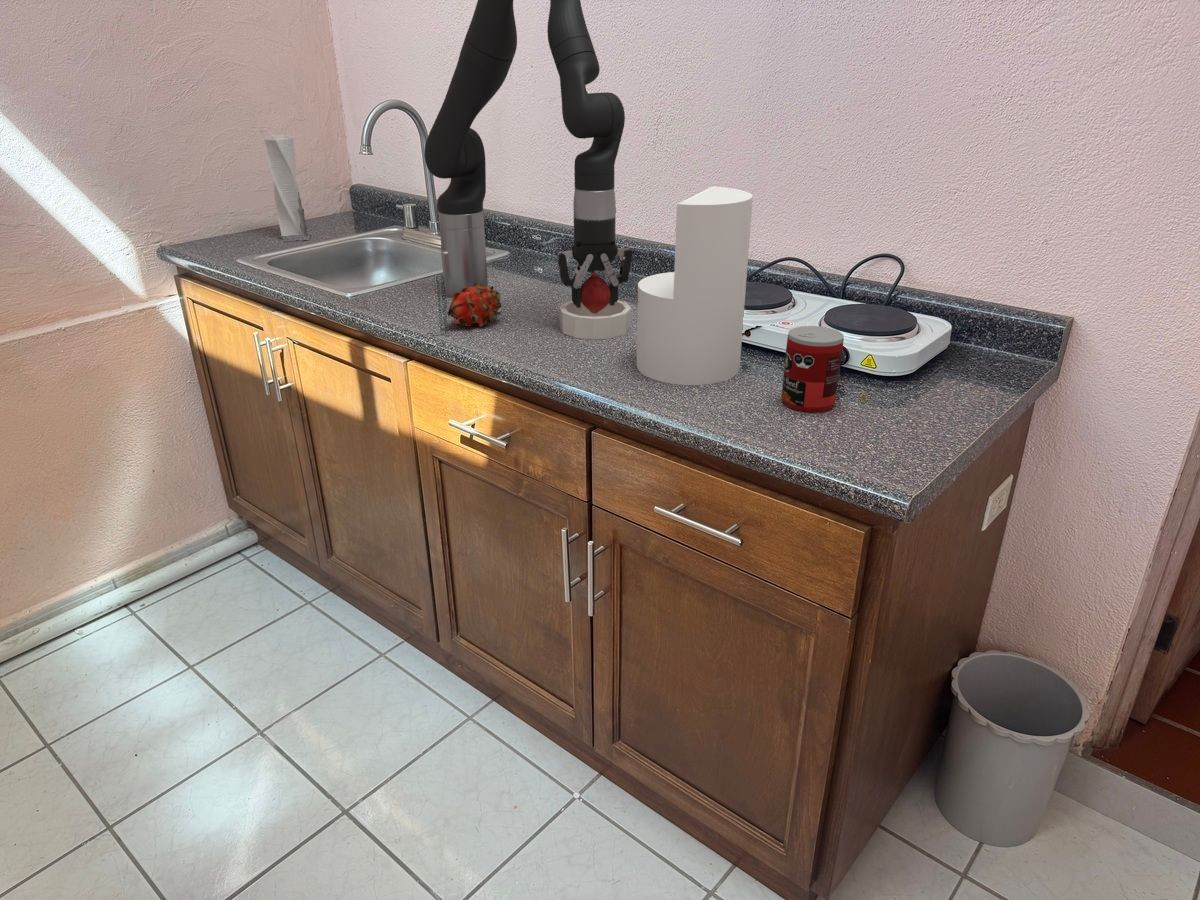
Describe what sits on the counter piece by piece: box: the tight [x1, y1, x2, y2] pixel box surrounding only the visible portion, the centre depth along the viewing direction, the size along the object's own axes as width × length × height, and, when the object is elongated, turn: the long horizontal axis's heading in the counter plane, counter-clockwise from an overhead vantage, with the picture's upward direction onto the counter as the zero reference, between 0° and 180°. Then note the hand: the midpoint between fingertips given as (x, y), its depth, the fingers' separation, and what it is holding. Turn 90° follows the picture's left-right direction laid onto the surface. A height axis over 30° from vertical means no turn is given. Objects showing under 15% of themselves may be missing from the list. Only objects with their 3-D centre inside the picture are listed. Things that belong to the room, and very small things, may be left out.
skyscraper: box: [259, 128, 309, 237], centre depth 224 cm, size 8×8×28 cm
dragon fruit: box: [447, 283, 503, 328], centre depth 160 cm, size 8×8×12 cm
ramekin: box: [559, 299, 632, 341], centre depth 159 cm, size 13×13×4 cm
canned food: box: [781, 325, 845, 413], centre depth 125 cm, size 8×8×11 cm
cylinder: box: [636, 185, 754, 386], centre depth 135 cm, size 17×17×28 cm
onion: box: [580, 270, 611, 314], centre depth 157 cm, size 6×6×8 cm
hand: (594, 305), depth 158 cm, fingers closed on onion, 6 cm apart
